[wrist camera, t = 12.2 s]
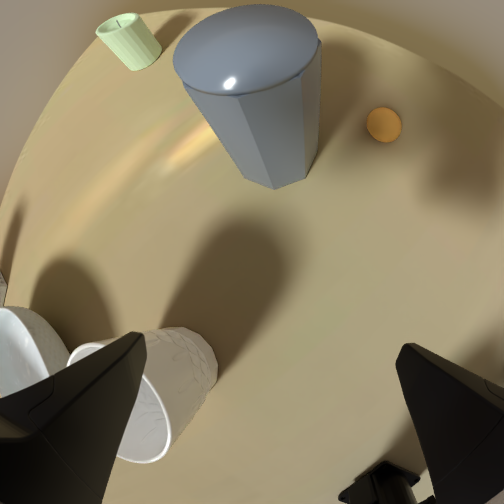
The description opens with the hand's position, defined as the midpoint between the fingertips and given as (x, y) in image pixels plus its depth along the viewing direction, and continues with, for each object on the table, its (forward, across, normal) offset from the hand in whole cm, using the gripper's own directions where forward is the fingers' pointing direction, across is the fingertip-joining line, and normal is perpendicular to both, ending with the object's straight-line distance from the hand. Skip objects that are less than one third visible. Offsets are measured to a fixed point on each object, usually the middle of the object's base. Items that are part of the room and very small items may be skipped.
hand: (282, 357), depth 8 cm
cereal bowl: (+13, +23, +18) cm, 32 cm away
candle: (+26, +16, -20) cm, 36 cm away
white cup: (+11, +6, +11) cm, 16 cm away
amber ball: (+15, -9, -10) cm, 20 cm away
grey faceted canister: (+16, -1, -7) cm, 18 cm away
